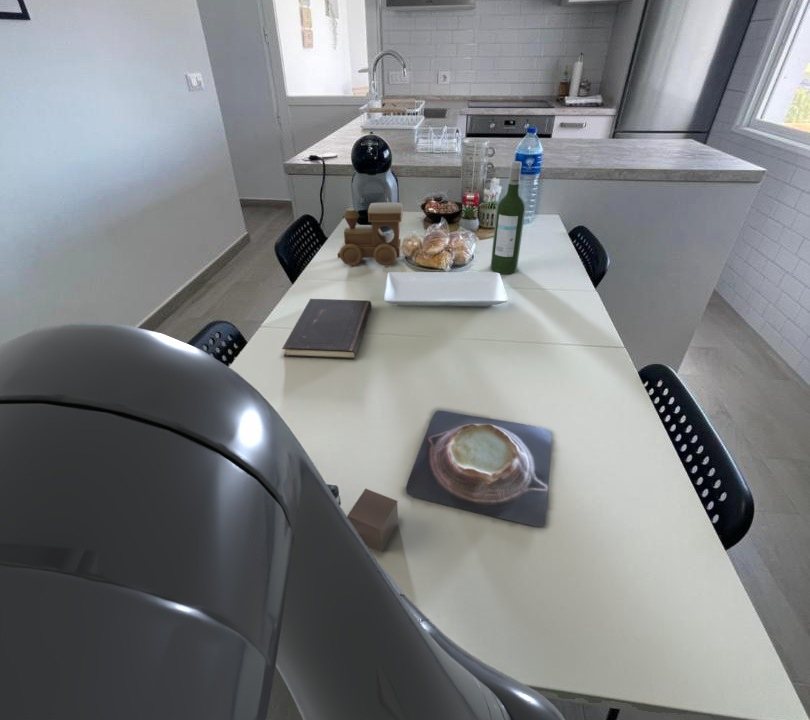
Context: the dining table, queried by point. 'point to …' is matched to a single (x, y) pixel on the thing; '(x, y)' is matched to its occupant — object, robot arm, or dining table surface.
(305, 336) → the hardcover book
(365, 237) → the wooden toy train
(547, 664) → the dining table surface
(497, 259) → the wine bottle
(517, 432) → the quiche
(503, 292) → the tray
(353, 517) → the walnut block
